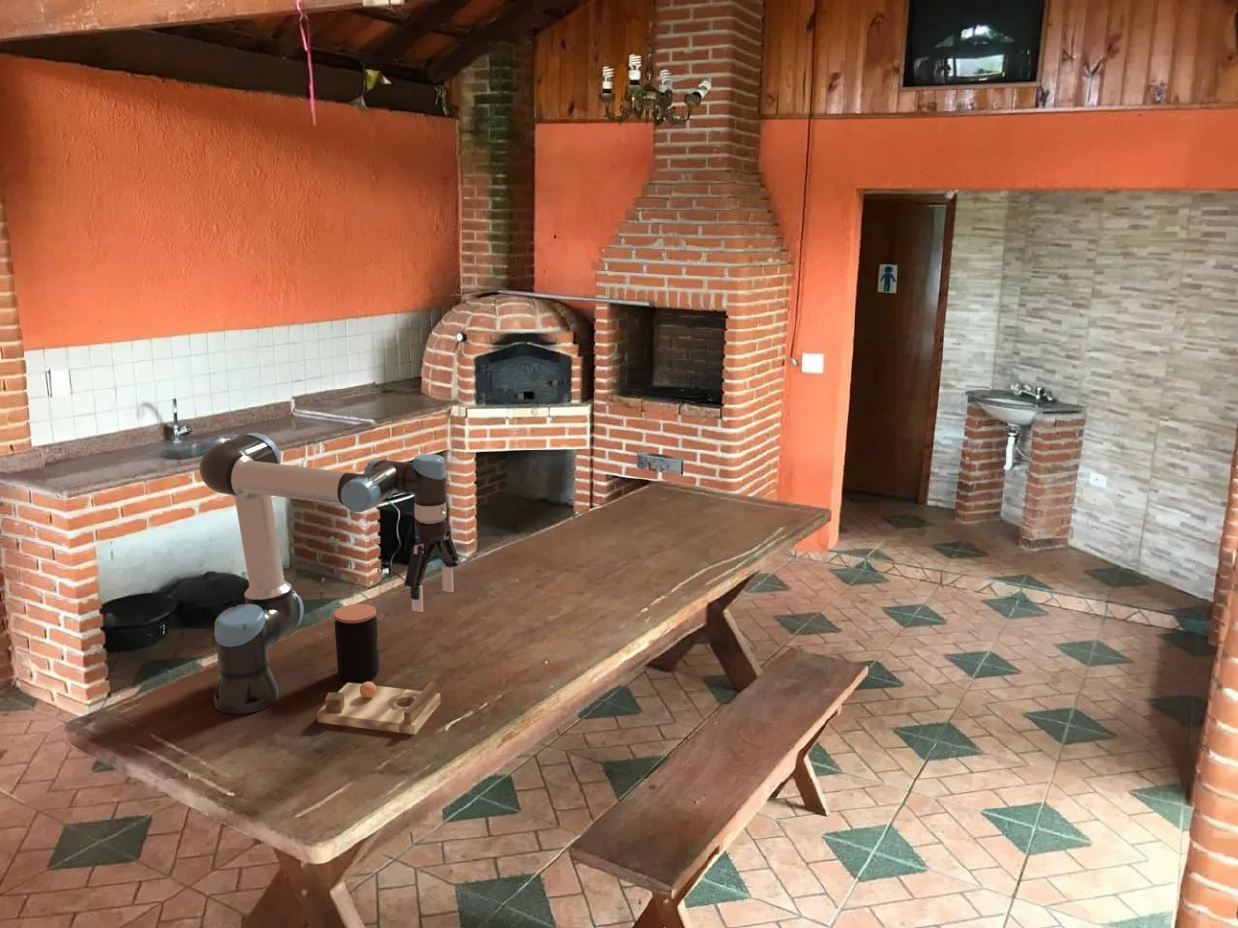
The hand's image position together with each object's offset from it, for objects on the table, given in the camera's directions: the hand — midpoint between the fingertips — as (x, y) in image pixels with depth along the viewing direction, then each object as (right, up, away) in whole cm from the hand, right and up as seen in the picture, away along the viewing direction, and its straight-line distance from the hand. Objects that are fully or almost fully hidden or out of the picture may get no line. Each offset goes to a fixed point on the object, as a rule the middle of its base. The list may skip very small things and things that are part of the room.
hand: (433, 600), depth 249 cm
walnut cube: (-23, -26, -5) cm, 35 cm away
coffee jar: (-23, -22, +18) cm, 37 cm away
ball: (-16, -22, +1) cm, 28 cm away
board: (-13, -27, -1) cm, 30 cm away
